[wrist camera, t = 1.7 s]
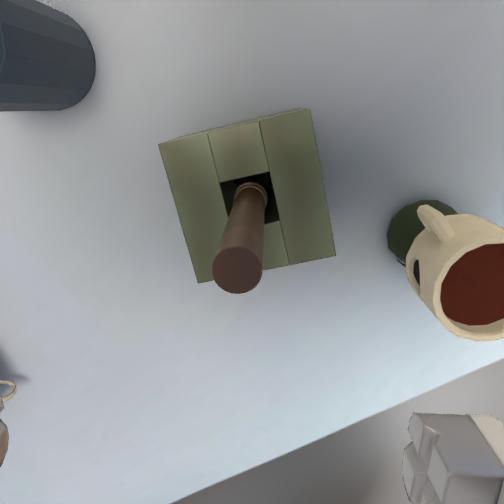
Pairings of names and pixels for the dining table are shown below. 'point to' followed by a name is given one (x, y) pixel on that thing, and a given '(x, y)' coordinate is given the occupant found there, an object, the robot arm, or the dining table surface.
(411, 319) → the dining table surface
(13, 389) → the chinaware
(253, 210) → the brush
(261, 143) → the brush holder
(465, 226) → the character mug
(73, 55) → the steel bottle
